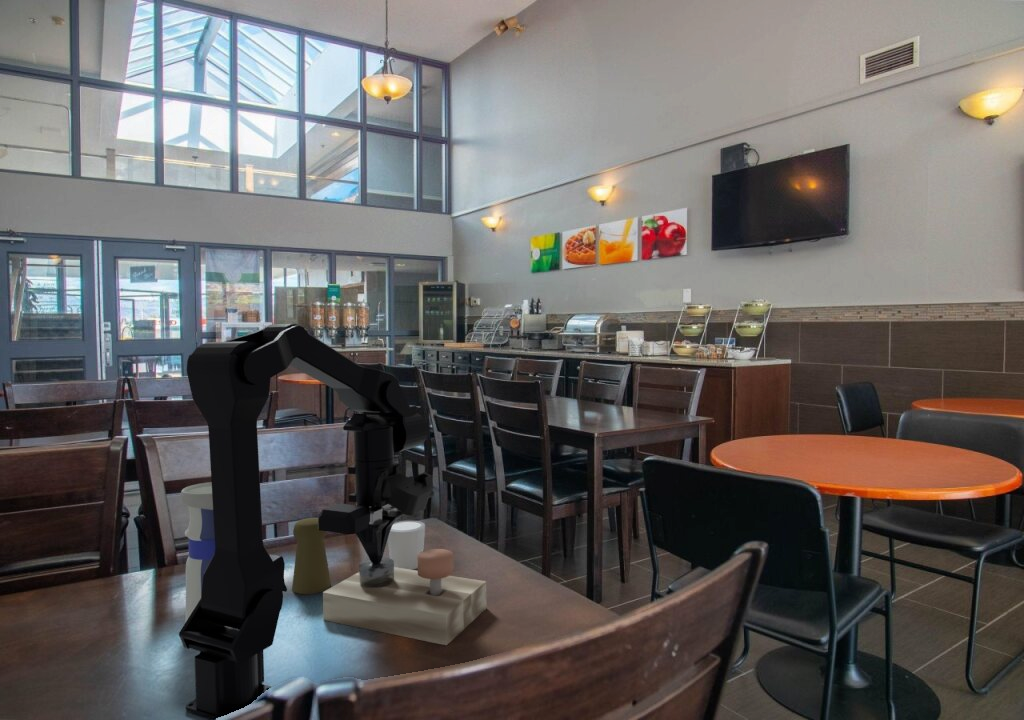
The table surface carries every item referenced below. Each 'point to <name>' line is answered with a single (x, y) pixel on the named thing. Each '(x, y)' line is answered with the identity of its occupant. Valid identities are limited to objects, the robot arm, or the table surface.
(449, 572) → the pink mushroom knob
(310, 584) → the cork
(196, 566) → the water bottle
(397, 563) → the shot glass
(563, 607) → the table surface
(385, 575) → the metal plunger
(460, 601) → the plunger block
